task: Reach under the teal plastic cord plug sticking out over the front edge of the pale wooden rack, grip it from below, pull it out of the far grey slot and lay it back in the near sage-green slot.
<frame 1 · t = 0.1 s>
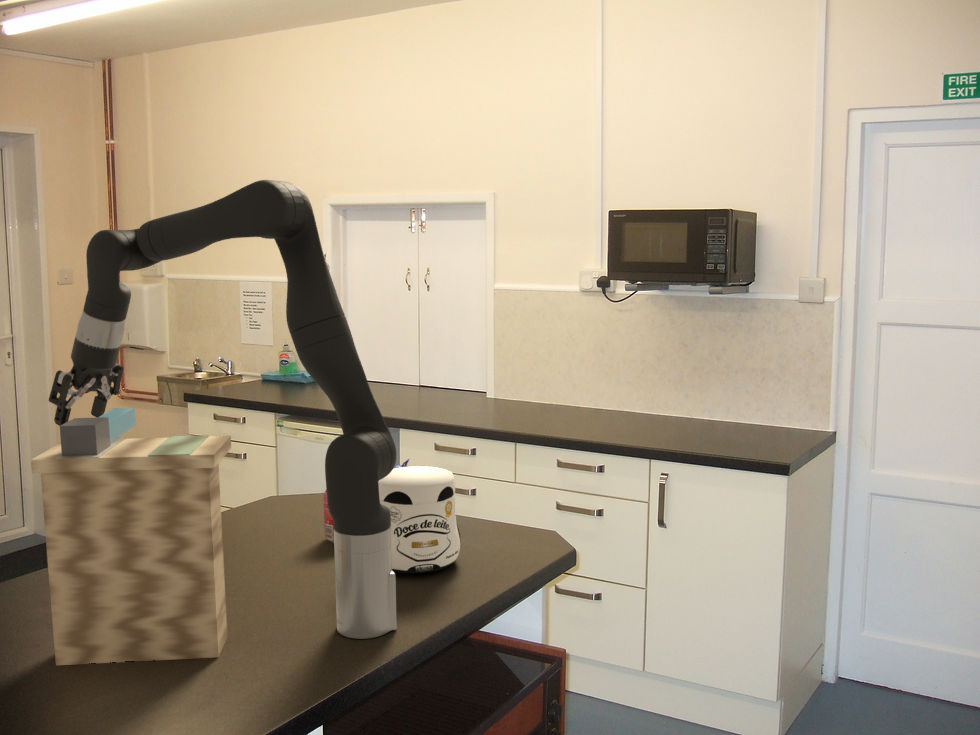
hand: (79, 420, 161), 31 cm above the countertop, tool tilted 20°, fingers open, 8 cm apart
milk container: (416, 565, 176), on the countertop
ink cartridge box: (401, 523, 202), on the countertop
cord plug: (104, 439, 142), point 32 cm above the countertop, touching cord rack
soda can: (341, 540, 190), on the countertop
cord rack: (158, 628, 147), on the countertop
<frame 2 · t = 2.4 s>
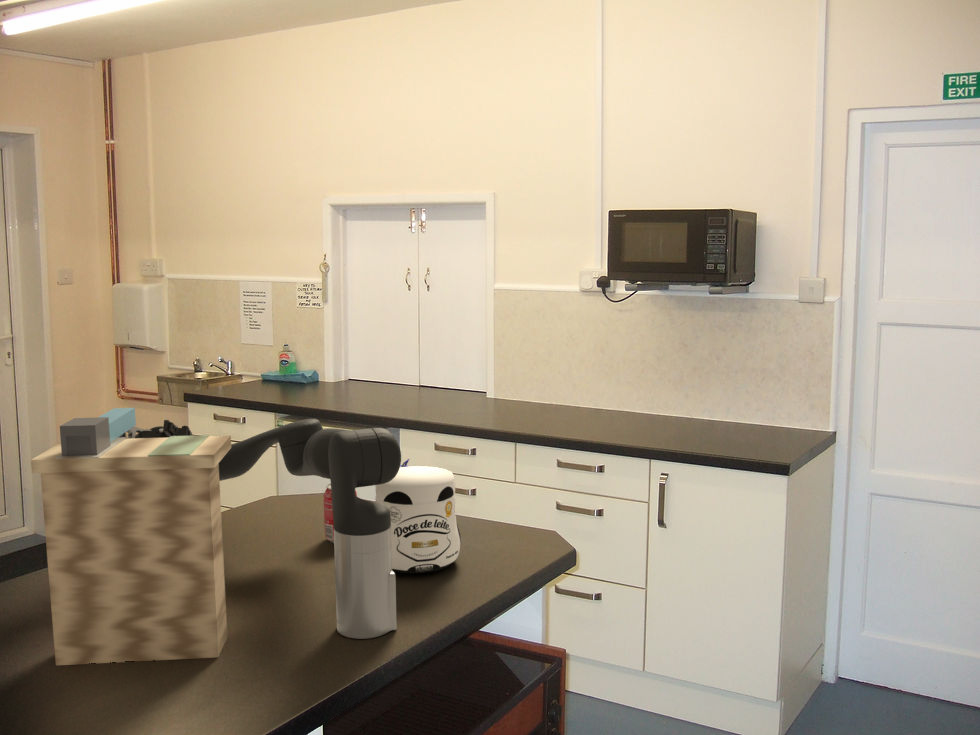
hand: (141, 425, 162), 30 cm above the countertop, tool pointing upward, fingers open, 8 cm apart
nothing on the countertop moved.
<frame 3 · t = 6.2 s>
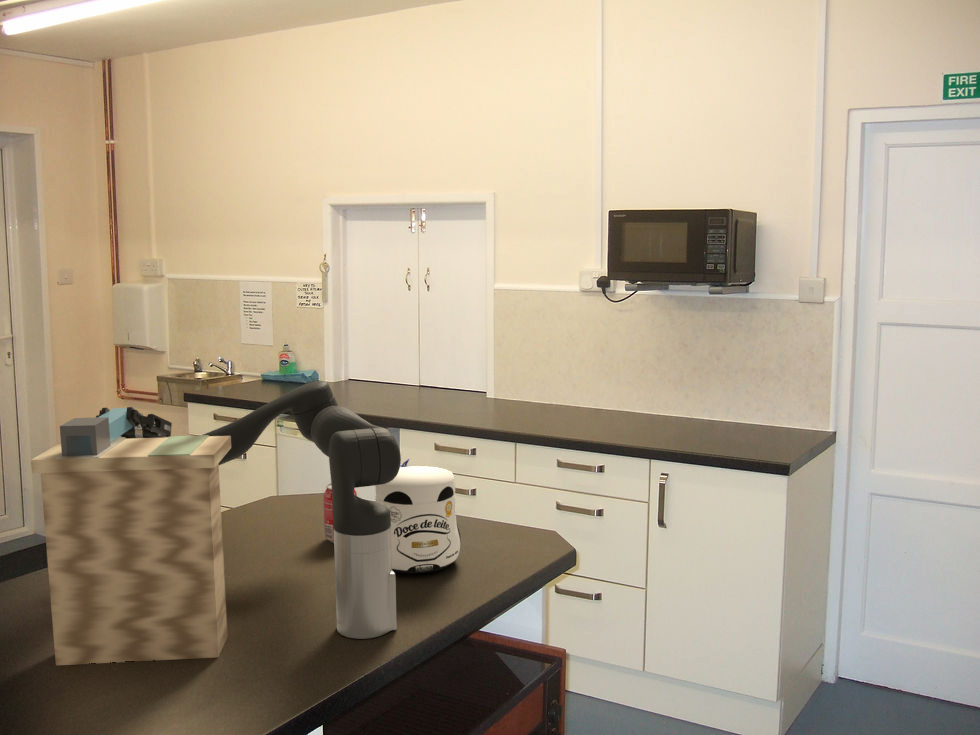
hand: (116, 412, 148), 35 cm above the countertop, tool pointing upward, fingers closed on cord plug, 3 cm apart
cord plug: (104, 439, 142), point 32 cm above the countertop, touching cord rack, gripper
everything else where it was.
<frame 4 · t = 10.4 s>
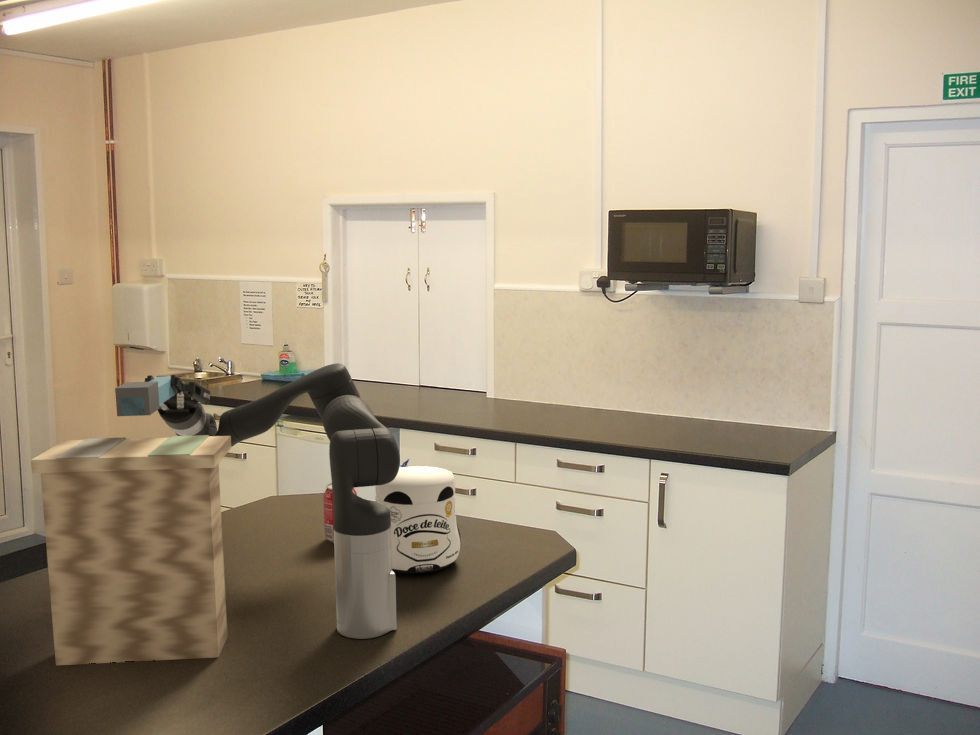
hand: (160, 380, 158), 39 cm above the countertop, tool pointing upward, fingers closed on cord plug, 3 cm apart
cord plug: (152, 403, 151), point 36 cm above the countertop, touching gripper
everything else where it was.
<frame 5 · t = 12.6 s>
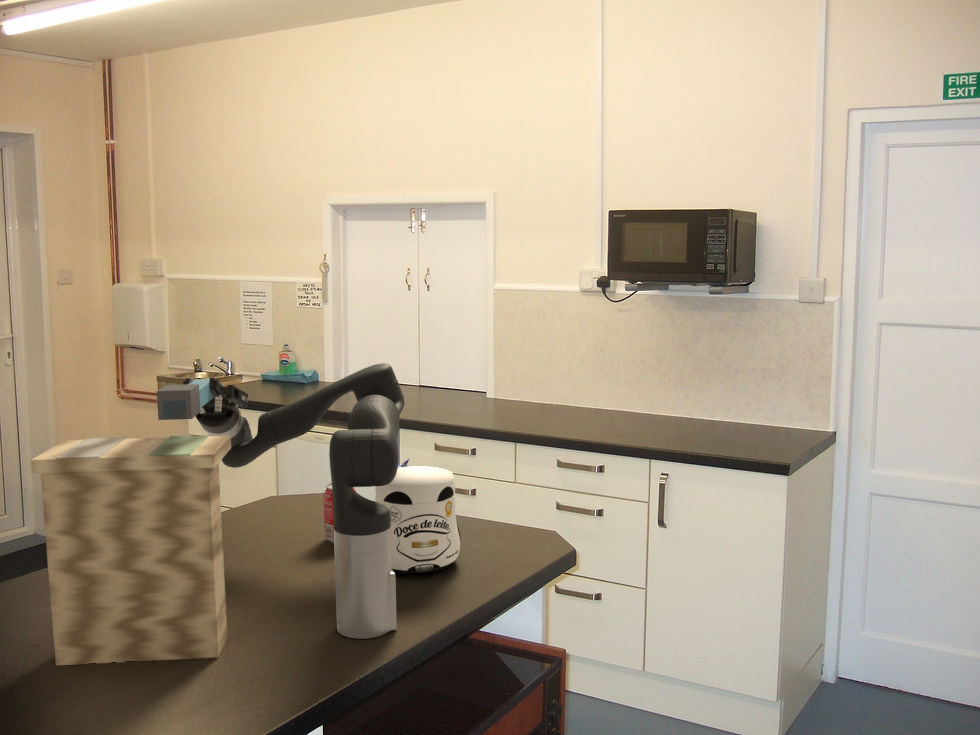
hand: (199, 382, 153), 39 cm above the countertop, tool pointing upward, fingers closed on cord plug, 3 cm apart
cord plug: (191, 406, 147), point 36 cm above the countertop, touching gripper
everything else where it was.
when the fingers open (37 cm above the countertop, at t = 14.7 s): cord plug drops 1 cm, resting on cord rack.
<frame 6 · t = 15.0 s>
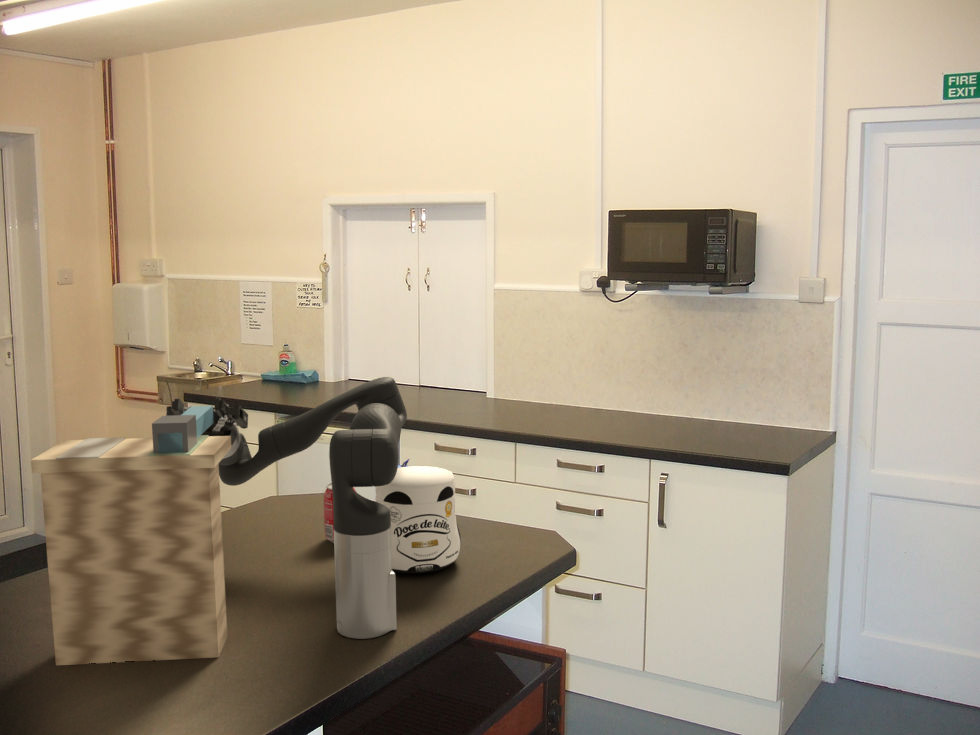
hand: (196, 403, 149), 36 cm above the countertop, tool pointing upward, fingers open, 6 cm apart
cord plug: (188, 436, 143), point 32 cm above the countertop, touching cord rack
everything else where it was.
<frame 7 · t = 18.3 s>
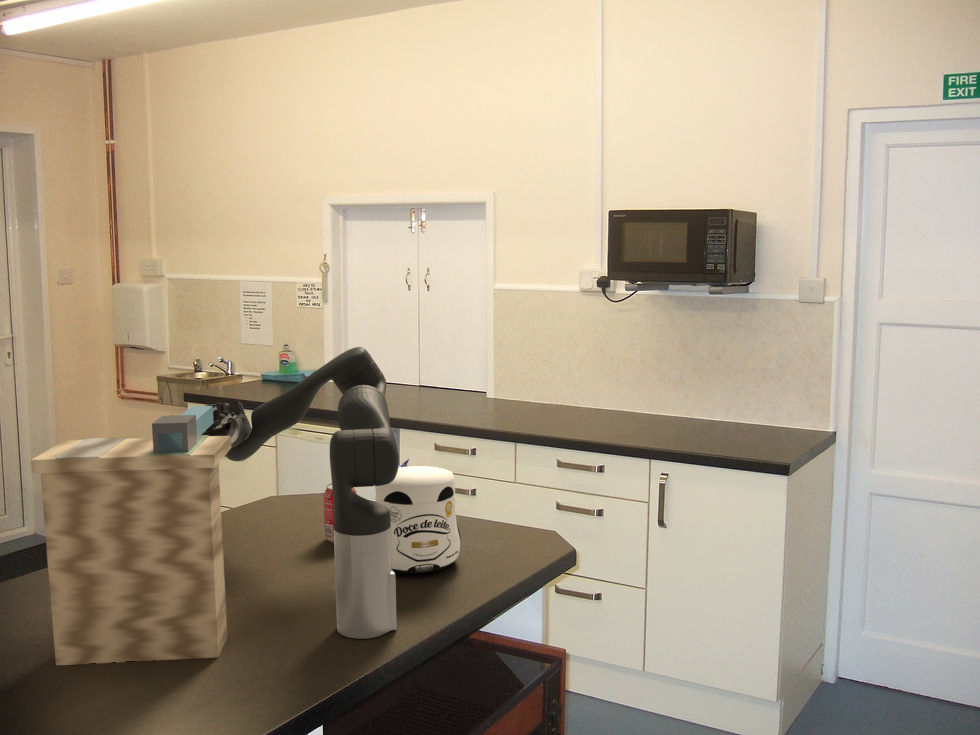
hand: (194, 414, 159), 33 cm above the countertop, tool pointing upward, fingers open, 8 cm apart
nothing on the countertop moved.
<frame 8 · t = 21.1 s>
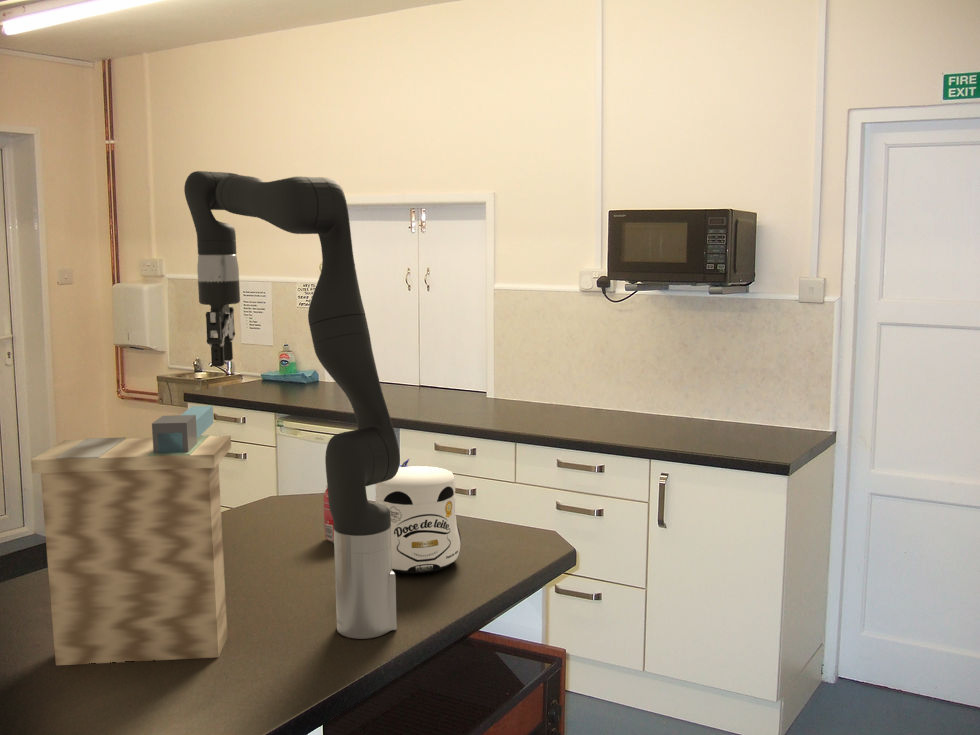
hand: (222, 363, 171), 40 cm above the countertop, tool pointing down, fingers open, 8 cm apart
nothing on the countertop moved.
at the end: cord plug inside the target area on the cord rack (0.2 cm from its centre), point 32.2 cm above the cord rack's base; the gripper is holding nothing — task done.
